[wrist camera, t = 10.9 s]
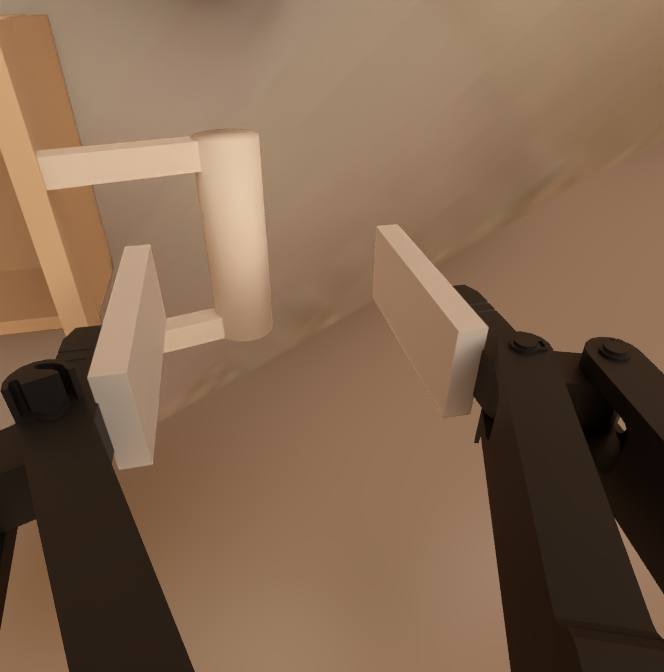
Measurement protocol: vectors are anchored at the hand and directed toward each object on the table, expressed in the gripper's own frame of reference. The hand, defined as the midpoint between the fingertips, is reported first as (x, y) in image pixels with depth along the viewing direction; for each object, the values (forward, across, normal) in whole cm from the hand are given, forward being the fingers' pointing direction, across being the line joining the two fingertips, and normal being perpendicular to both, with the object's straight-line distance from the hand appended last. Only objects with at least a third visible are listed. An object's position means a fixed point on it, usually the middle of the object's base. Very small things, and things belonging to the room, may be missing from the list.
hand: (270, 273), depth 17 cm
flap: (+6, -8, -1) cm, 10 cm away
